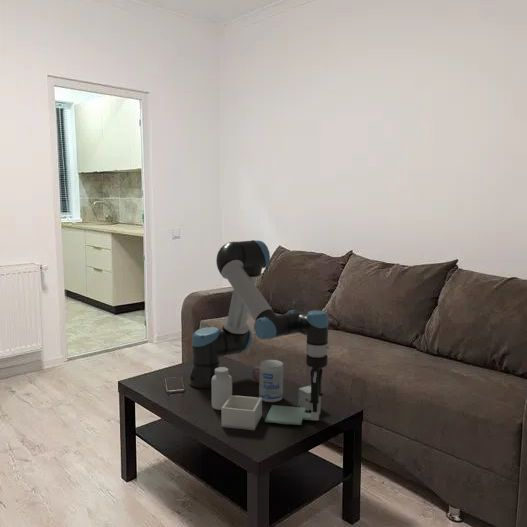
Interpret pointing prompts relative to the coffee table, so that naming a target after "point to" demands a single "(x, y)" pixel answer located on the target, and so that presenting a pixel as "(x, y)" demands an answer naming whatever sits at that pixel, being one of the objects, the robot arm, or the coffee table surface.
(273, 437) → the coffee table surface
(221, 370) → the pill bottle
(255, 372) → the video game controller
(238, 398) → the box
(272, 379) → the supplement tub
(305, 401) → the skincare box
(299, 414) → the lid
